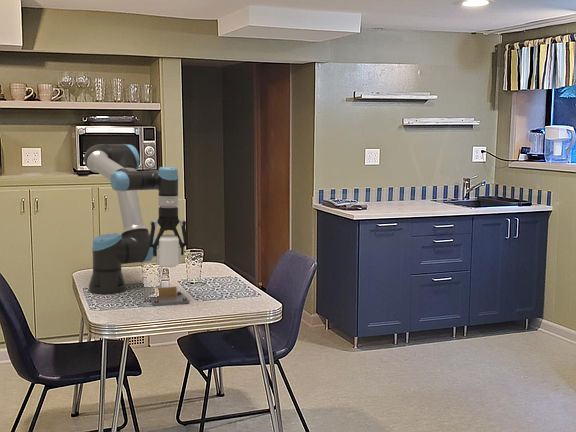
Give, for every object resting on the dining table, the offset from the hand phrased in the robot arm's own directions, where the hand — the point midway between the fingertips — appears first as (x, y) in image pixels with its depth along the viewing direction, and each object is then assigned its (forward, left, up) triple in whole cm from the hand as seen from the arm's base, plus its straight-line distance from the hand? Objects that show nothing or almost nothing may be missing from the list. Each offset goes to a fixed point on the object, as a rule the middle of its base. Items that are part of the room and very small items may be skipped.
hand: (168, 263), depth 277 cm
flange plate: (0, +1, -15) cm, 15 cm away
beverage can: (0, 0, -1) cm, 1 cm away
